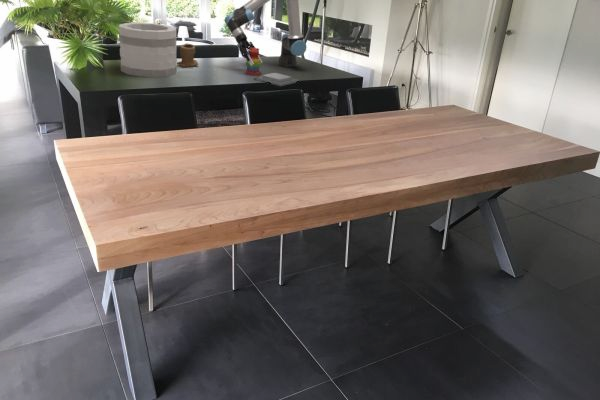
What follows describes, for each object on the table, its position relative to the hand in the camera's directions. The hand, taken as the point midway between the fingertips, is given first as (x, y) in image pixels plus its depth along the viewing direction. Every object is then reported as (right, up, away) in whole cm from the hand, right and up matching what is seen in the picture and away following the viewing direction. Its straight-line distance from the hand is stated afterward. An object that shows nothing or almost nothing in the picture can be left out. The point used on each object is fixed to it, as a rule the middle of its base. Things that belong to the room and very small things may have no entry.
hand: (256, 64), depth 343 cm
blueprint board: (+14, -13, -7) cm, 20 cm away
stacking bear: (-3, -6, +5) cm, 8 cm away
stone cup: (-48, 0, +7) cm, 49 cm away
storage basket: (-68, -10, -18) cm, 71 cm away
